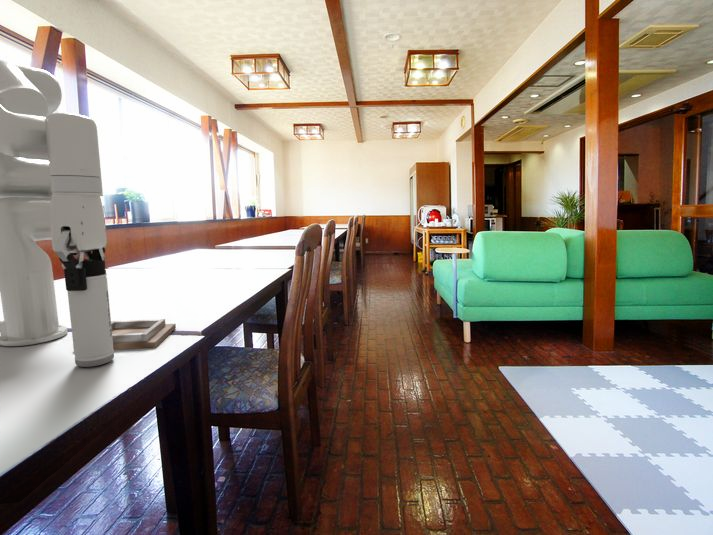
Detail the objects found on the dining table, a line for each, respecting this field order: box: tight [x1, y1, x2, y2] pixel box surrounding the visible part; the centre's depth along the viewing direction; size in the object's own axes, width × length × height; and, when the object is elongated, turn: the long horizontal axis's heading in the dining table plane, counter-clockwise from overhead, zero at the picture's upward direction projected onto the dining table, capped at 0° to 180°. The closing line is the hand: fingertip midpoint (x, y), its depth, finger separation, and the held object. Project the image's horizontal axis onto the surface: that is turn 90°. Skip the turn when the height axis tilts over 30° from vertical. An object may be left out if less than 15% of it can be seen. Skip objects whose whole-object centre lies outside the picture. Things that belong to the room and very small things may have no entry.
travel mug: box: [67, 258, 115, 368], centre depth 76 cm, size 6×7×20 cm
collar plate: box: [72, 318, 176, 350], centre depth 92 cm, size 16×14×3 cm
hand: (87, 285), depth 76 cm, fingers closed on travel mug, 6 cm apart
